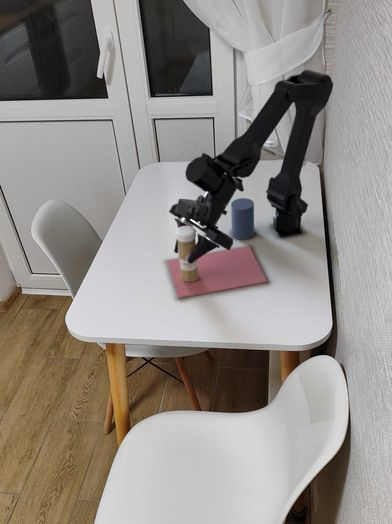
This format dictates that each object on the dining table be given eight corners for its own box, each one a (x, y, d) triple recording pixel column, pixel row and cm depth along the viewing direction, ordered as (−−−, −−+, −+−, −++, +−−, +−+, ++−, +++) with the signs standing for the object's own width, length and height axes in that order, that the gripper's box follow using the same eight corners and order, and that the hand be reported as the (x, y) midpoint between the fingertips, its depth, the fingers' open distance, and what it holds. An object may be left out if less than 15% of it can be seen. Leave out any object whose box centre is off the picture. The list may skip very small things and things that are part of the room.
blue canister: (250, 226, 149) (250, 196, 143) (256, 237, 145) (256, 207, 138) (229, 229, 148) (228, 200, 142) (235, 241, 144) (234, 211, 138)
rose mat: (249, 247, 141) (249, 245, 141) (267, 282, 130) (267, 281, 130) (168, 261, 139) (167, 260, 139) (178, 298, 128) (178, 297, 128)
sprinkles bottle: (187, 285, 131) (182, 237, 122) (177, 276, 134) (172, 229, 125) (202, 278, 133) (199, 230, 123) (192, 269, 135) (188, 222, 126)
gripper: (171, 171, 124) (138, 230, 128) (220, 200, 113) (183, 264, 116) (200, 191, 133) (169, 245, 136) (249, 219, 121) (213, 278, 125)
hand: (182, 257), depth 128 cm, fingers open, 5 cm apart
